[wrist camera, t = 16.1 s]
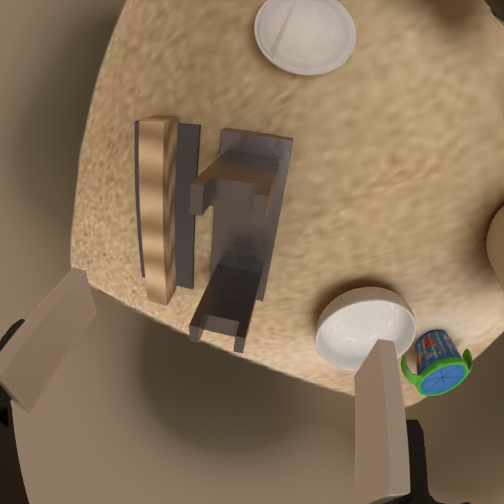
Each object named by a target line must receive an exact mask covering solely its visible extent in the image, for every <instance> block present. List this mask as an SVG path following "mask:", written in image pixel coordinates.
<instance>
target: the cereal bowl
mask: <svg viewBox="0 0 504 504" xmlns="http://www.w3.org/2000/svg"><path fill="white" fill-rule="evenodd" d="M415 335H416V322H415V318H414V315H413V312H412V311H411V308H410V307H409V305H408V304H407V303H406V301H405V300H404V299H403V298H402V297H401V296H399V295H398V294H396V293H394V292H393V291H390V290H387V289H384V288H379V287H361V288H357V289H353V290H350V291H347V292H345V293H343V294H341V295H339V296H338V297H337V298H335V299H334V300H333V301H331V302H330V303H329V304H328V305H327V307H326V308H325V309H324V311H323V312H322V314H321V315H320V318H319V320H318V323H317V327H316V333H315V346H316V350H317V352H318V354H319V355H320V356H321V357H322V358H323V359H324V360H325V361H326V362H328V363H329V364H331V365H333V366H335V367H338V368H341V369H345V370H351V371H358V370H359V368H360V367H361V365H362V364H363V362H364V361H365V359H366V357H367V356H368V354H369V353H370V351H371V349H372V348H373V346H374V345H375V343H376V341H377V340H378V339H383V340H389V341H394V345H395V350H396V356H397V359H398V358H399V357H400V356H402V355H403V354H404V353H405V352H406V351H407V350H408V348H409V347H410V346H411V344H412V342H413V340H414V338H415Z"/></svg>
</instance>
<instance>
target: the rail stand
mask: <svg viewBox="0 0 504 504" xmlns="http://www.w3.org/2000/svg"><path fill="white" fill-rule="evenodd" d="M292 143H293V138H288V137H282V136H276V135H270V134H264V133H258V132H251V131H244V130H237V129H229V128H225V129H223V130H222V133H221V143H220V153H219V158H218V159H217V160H216V161H214V162H213V163H212V164H211V165H210V166H209V167H208V168H207V169H206V170H205V171H203V172H202V173H201V174H200V175H199V176H198V177H197V178H196V179H195V180H194V181H193V182H192V183H191V188H190V214H195V215H201V216H202V215H203V213H204V212H205V211H206V209H207V208H208V207H209V205H212V206H215V213H214V227H213V242H212V258H211V275H210V281H209V283H208V285H207V288H206V290H205V292H204V294H203V296H202V298H201V301H200V303H199V305H198V307H197V309H196V311H195V314H194V316H193V318H192V320H191V322H190V325H189V333H190V341H193V342H197V343H199V341H200V338H201V336H202V333H203V331H204V330H208V331H213V332H217V333H221V334H225V335H230V336H234V337H235V344H234V351H235V352H239V353H243V350H244V346H245V342H246V339H247V335H248V331H249V327H250V323H251V319H252V315H253V311H254V307H255V303H256V300H260V301H263V298H264V294H265V289H266V284H267V279H268V273H269V268H270V263H271V258H272V253H273V247H274V242H275V237H276V232H277V226H278V221H279V216H280V210H281V205H282V199H283V194H284V188H285V183H286V177H287V171H288V166H289V160H290V154H291V148H292Z"/></svg>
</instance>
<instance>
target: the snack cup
mask: <svg viewBox="0 0 504 504" xmlns="http://www.w3.org/2000/svg"><path fill="white" fill-rule="evenodd" d="M463 358H464V359H463ZM463 358H461V356H460V354H459V352H458V351H457V349H456V347H455V345H454V344H453V342H452V341H451V339H450V337H449V336H448V334H447V333H446V332H445V331H440V330H439V331H433V332H428V333H427V334H426V335H424V336H423V337H422V338H421V339H420V340H419V341H418V342H417V343H416V363H417V375H416V374H412V373H411V372H410V370H409V368H408V366H407V362H406V354H404V355H403V357H402V360H401V369H402V372H403V374H404V375H405V377H406V378H407V380H408V381H409V382H411V383H412V384H414V385H416V386H417V390H418V392H419V393H420V394H422V395H425V396H435V395H440V394H443V393H445V392H448V391H450V390H451V389H453V388H455V387H456V386H458V385H459V384H460V383H461V382H462V381H463V380H464V379H465V377H466V376H467V375H468V373H469V372H470V371H471V369H472V356H471V353H470V351H469V350H468V349H466V350H465V351H464V353H463ZM467 365H468V366H467Z"/></svg>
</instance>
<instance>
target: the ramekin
mask: <svg viewBox="0 0 504 504" xmlns="http://www.w3.org/2000/svg"><path fill="white" fill-rule="evenodd" d="M254 34H255V39H256V42H257V44H258V46H259V48H260V50H261V52H262V53H263V54H264V55H265V57H266V58H267V59H268V60H269V61H270V62H272V63H273V64H274V65H276V66H277V67H279V68H280V69H282V70H284V71H287V72H290V73H293V74H297V75H302V76H317V75H323V74H327V73H329V72H332V71H334V70H336V69H338V68H339V67H341V66H342V65H343V64H345V63H346V61H347V60H348V59H349V58H350V56H351V55H352V53H353V51H354V48H355V45H356V39H357V33H356V26H355V23H354V21H353V18H352V16H351V15H350V13H349V11H348V10H347V9H346V8H345V7H344V5H343V4H341V3H340V2H339V1H338V0H267V1H266V2H265V3H264V4H263V5H262V6H261V8H260V9H259V11H258V13H257V15H256V18H255V23H254Z"/></svg>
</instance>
